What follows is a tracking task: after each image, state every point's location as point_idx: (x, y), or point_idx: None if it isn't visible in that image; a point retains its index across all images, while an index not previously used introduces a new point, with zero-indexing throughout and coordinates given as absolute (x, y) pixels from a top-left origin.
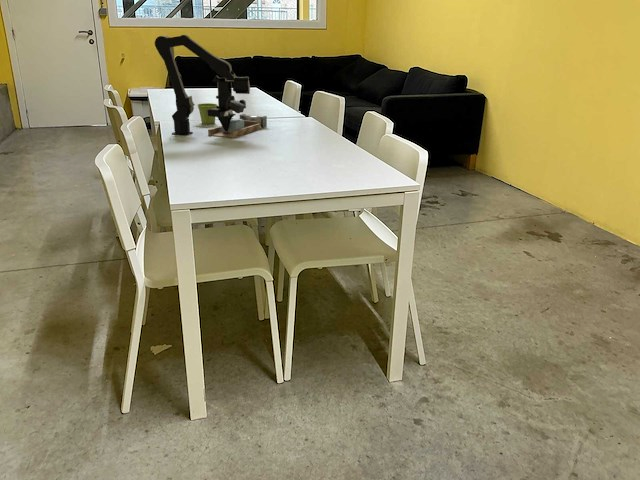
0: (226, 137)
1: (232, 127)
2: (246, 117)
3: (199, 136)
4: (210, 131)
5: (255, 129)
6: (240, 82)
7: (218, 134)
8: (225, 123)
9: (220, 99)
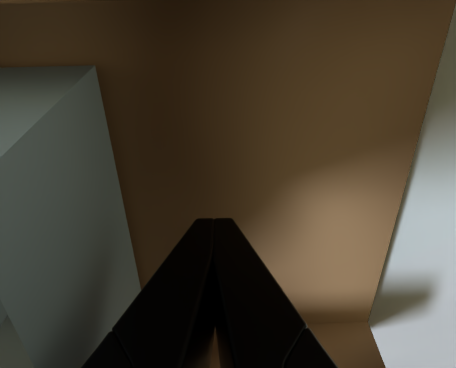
0: (427, 73)
1: (77, 207)
2: None
3: (446, 363)
4: (382, 362)
5: None
6: None
7: (313, 264)
8: (313, 361)
9: None
